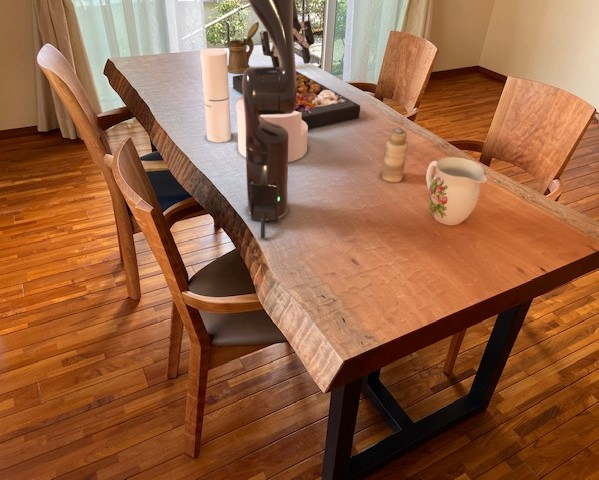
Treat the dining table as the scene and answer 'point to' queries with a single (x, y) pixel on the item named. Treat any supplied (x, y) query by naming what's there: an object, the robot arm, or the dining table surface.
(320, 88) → the food platter
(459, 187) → the pitcher
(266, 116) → the container
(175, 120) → the dining table surface
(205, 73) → the cylindrical container
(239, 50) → the wooden mug
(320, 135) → the dining table surface
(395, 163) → the pepper mill
